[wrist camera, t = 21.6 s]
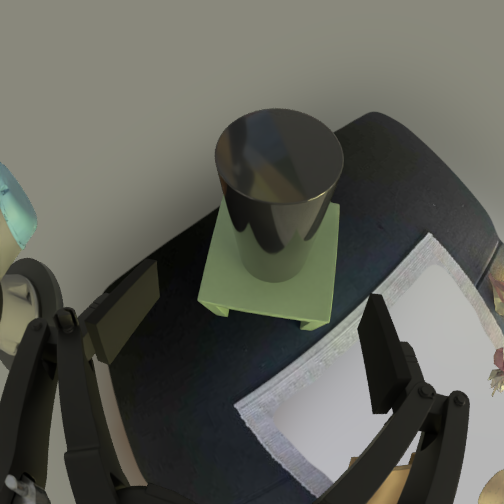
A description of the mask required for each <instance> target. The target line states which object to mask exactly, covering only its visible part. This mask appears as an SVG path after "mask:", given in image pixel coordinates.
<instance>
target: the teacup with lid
mask: <svg viewBox="0 0 504 504" xmlns="http://www.w3.org/2000/svg"><path fill="white" fill-rule="evenodd" d="M478 504H504V470H501V471H499V472H497V473H496V474H495V475H494V476H493V477H492V478H491V479H490V480H489V481H488V483H487V484H486V485H485V487H484V488H483V490H482V492H481V494H480V496H479V499H478Z"/></svg>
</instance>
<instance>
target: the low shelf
mask: <svg viewBox="0 0 504 504" xmlns="http://www.w3.org/2000/svg"><path fill="white" fill-rule="evenodd" d="M415 453H416V452H414V453H412V454H411V458H410V461H409V464H408V465H402V466H395V468H394V469H393V471H392V472H391V473H390V475H389V476H388V477H387V479H386V480H385V481H384V483H383V484H382V485H381V487H380V488H379V489H378V490H377V492H376V493H375V494H374V495H373V496H372V498H371V499H370V500H369V501H368V502H367V504H397V502H398V500H399V497H400V495H401V492H402V490H403V487H404V485H405V482H406V480H407V477H408V474H409V471H410V468H411V466H412V463H413V460H414V456H415ZM357 458H358V457H351V461H350V464H349V467H350V466H351V465H352V464H353V463H354V462H355V460H356V459H357ZM349 467H348V468H349Z"/></svg>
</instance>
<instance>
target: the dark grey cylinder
mask: <svg viewBox="0 0 504 504" xmlns="http://www.w3.org/2000/svg"><path fill="white" fill-rule="evenodd" d="M215 163H216V167H217V171H218V175H219V178H220V182H221V186H222V190H223V194H224V198H225V202H226V206H227V210H228V213H229V217H230V221H231V225H232V229H233V232H234V236H235V240H236V244H237V247H238V251H239V255H240V259H241V262H242V264H243V266H244V267H245V269H246V270H247V271H248V272H249V273H250V274H251V275H252V276H253V277H255V278H257V279H259V280H261V281H264V282H269V283H279V282H284V281H287V280H289V279H291V278H293V277H294V276H296V275H297V274H298V273H299V272H300V271H301V270H302V268H303V267H304V265H305V263H306V261H307V258H308V256H309V254H310V251H311V249H312V246H313V244H314V242H315V239H316V237H317V234H318V232H319V230H320V227H321V225H322V222H323V220H324V217H325V215H326V212H327V210H328V207H329V204H330V202H331V199H332V197H333V194H334V191H335V189H336V186H337V184H338V181H339V178H340V176H341V173H342V169H343V163H344V158H343V151H342V148H341V145H340V143H339V141H338V139H337V137H336V136H335V134H334V133H333V132H332V131H331V130H330V129H329V128H328V127H327V126H326V125H325V124H323V123H322V122H321V121H319V120H318V119H316V118H314V117H312V116H310V115H308V114H305V113H302V112H299V111H295V110H290V109H280V108H275V109H274V108H272V109H263V110H259V111H254V112H252V113H248V114H246V115H244V116H242V117H240V118H238V119H237V120H235V121H234V122H232V123H231V124H230V125H229V126H228V127H227V128H226V129H225V130H224V131H223V133H222V134H221V136H220V138H219V140H218V142H217V145H216V149H215Z"/></svg>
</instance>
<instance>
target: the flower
mask: <svg viewBox="0 0 504 504" xmlns="http://www.w3.org/2000/svg"><path fill="white" fill-rule="evenodd" d="M488 277H489V278H490V281H491V284H492V286H493V296H494V304H495V310H496V312H497V313H498V314H500V315H501V316H503V317H504V281H498V280H495V279H494V278H493V276H492V274H491V273H490V274H489V275H488ZM494 364H495V365H496V366H497V367H498V368H499V369H497V370H492V372H491V374H490V377H489V380H491V379H492V383H491V386H492V387H491V388H493V387H494V386H495V389H494V391H493V393H492V397H493V395H494V393H495V391H496V390H498V388H499V387H500V393H501V392H502V391H503V390H504V361H503V347H502V348H500V349H497V350H496V352H495V354H494Z"/></svg>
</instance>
